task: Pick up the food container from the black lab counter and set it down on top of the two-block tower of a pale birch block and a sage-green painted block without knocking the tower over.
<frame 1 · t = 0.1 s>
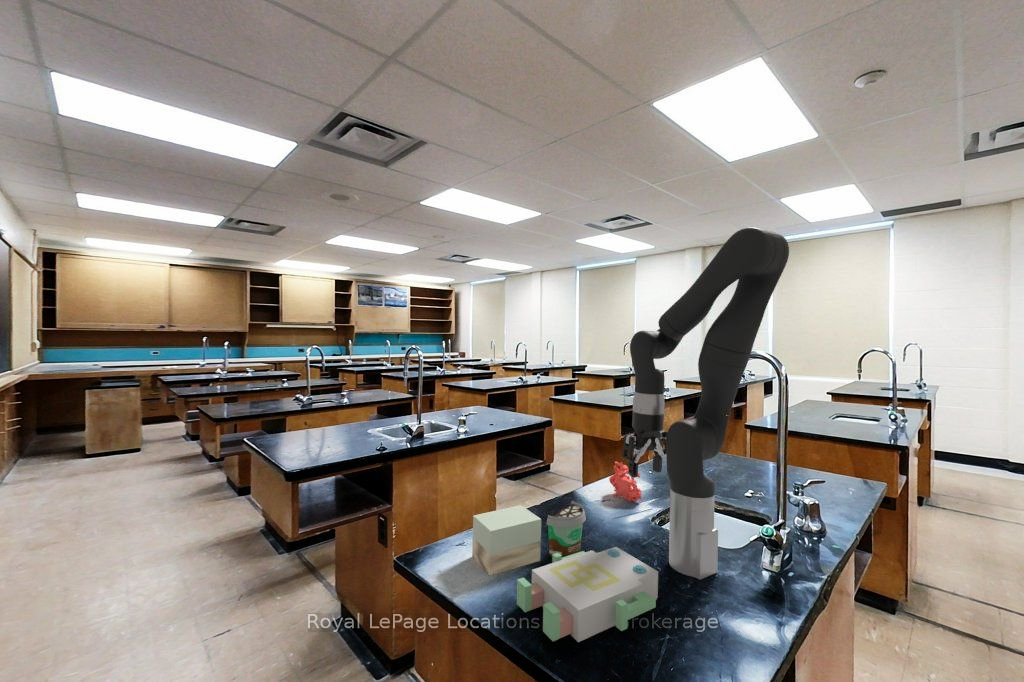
hand: (645, 473, 107), 17 cm above the countertop, tool pointing down, fingers open, 8 cm apart
anatomical heart: (625, 498, 136), on the countertop
tower top block: (506, 538, 98), point 5 cm above the countertop, touching tower base block
tower base block: (506, 560, 98), on the countertop, touching tower top block
decorative block: (588, 605, 82), on the countertop
food container: (570, 553, 101), on the countertop
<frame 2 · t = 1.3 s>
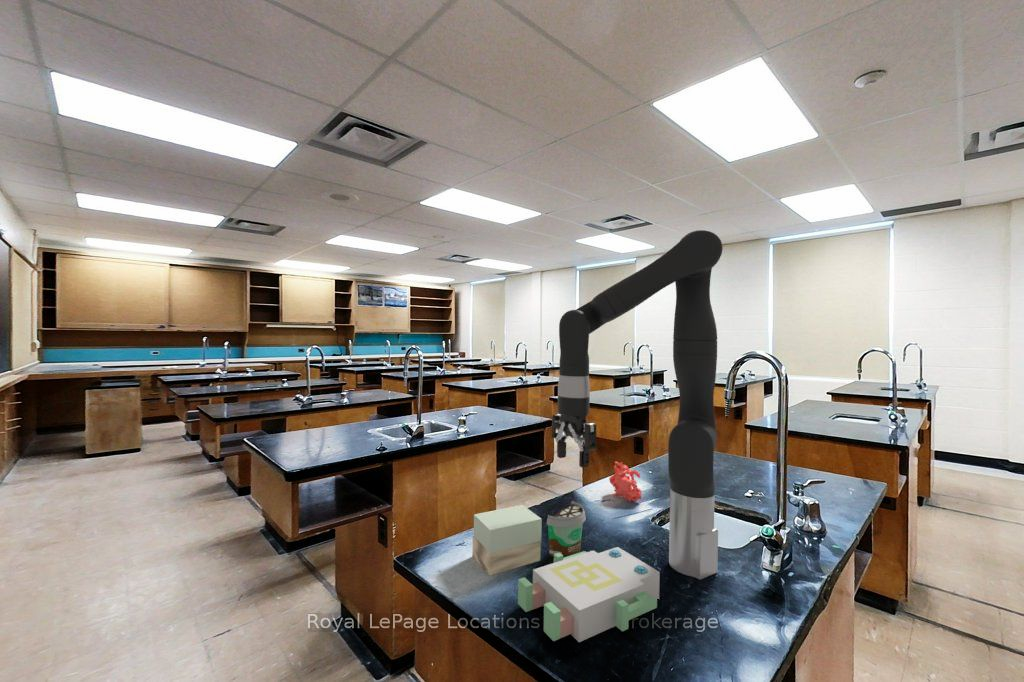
hand: (572, 461, 101), 22 cm above the countertop, tool pointing down, fingers open, 8 cm apart
tower top block: (507, 538, 98), point 5 cm above the countertop
tower base block: (506, 559, 98), on the countertop
everything else where it was.
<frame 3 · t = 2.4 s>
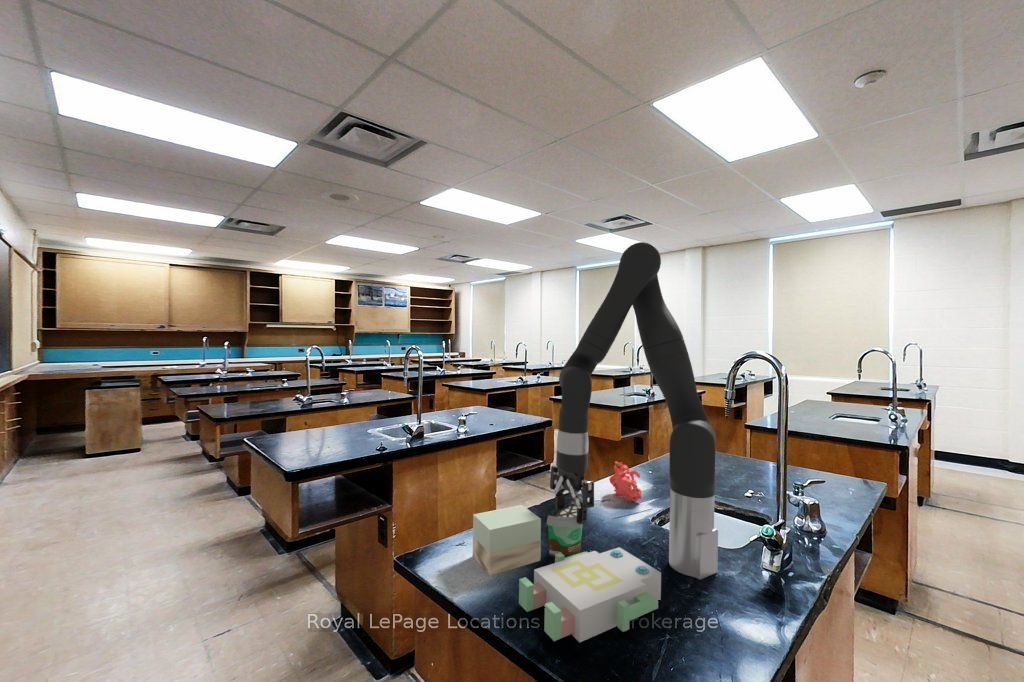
hand: (570, 516, 102), 8 cm above the countertop, tool pointing down, fingers open, 8 cm apart
tower top block: (506, 538, 98), point 5 cm above the countertop, touching tower base block
tower base block: (506, 559, 98), on the countertop, touching tower top block
everything else where it was.
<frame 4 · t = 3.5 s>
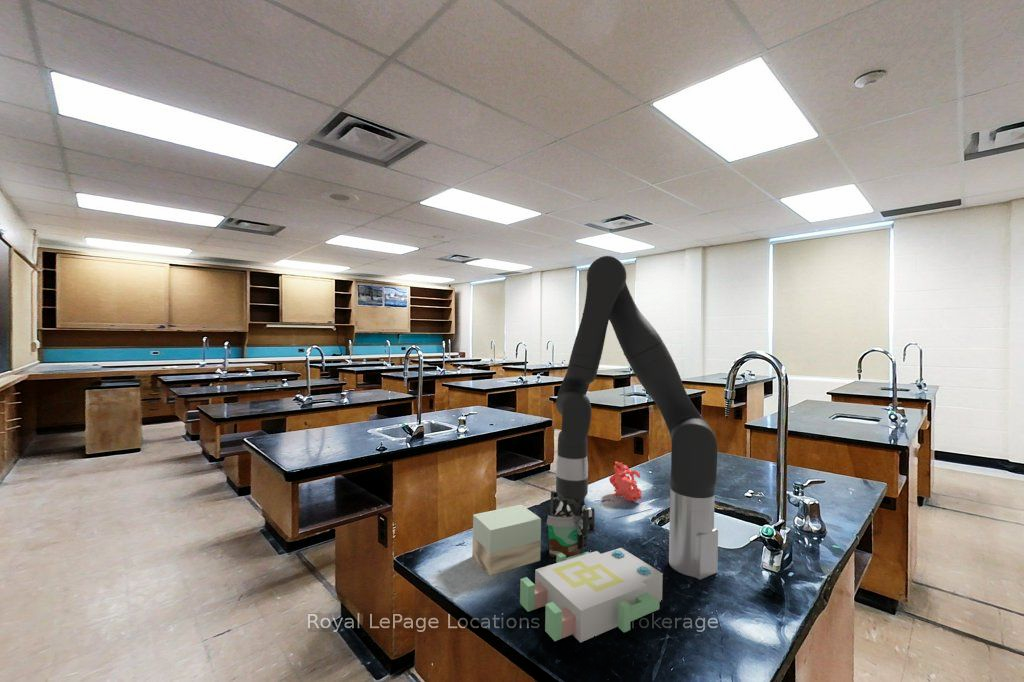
hand: (570, 541, 101), 2 cm above the countertop, tool pointing down, fingers open, 7 cm apart
food container: (570, 553, 101), on the countertop, touching gripper
everything else where it was.
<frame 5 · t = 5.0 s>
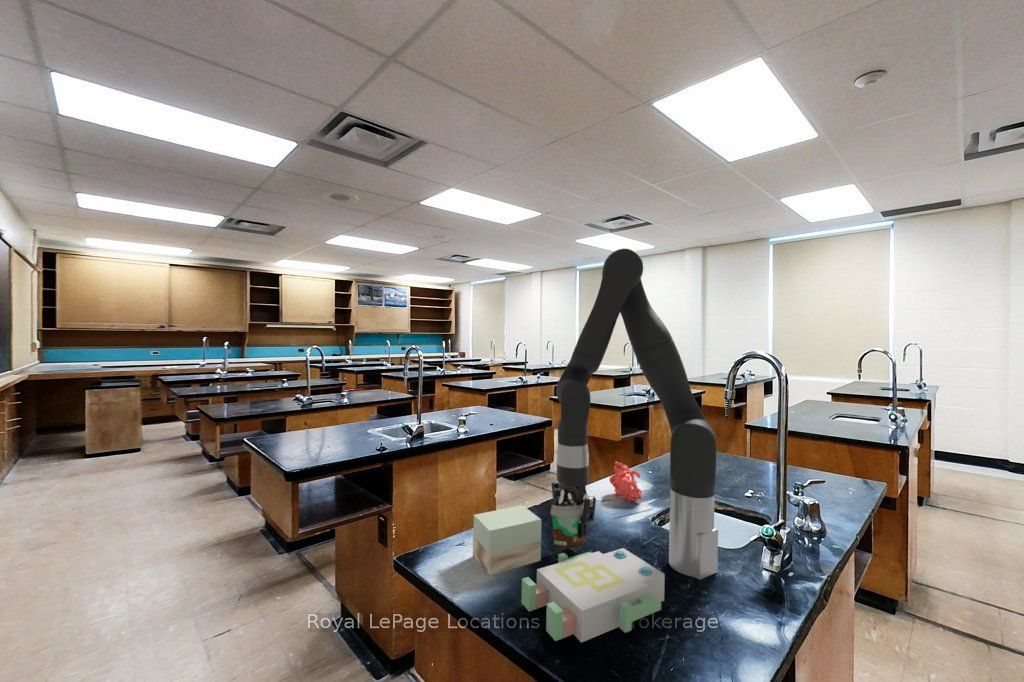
hand: (572, 532, 100), 5 cm above the countertop, tool pointing down, fingers closed on food container, 5 cm apart
food container: (575, 543, 100), point 3 cm above the countertop, touching gripper
everything else where it was.
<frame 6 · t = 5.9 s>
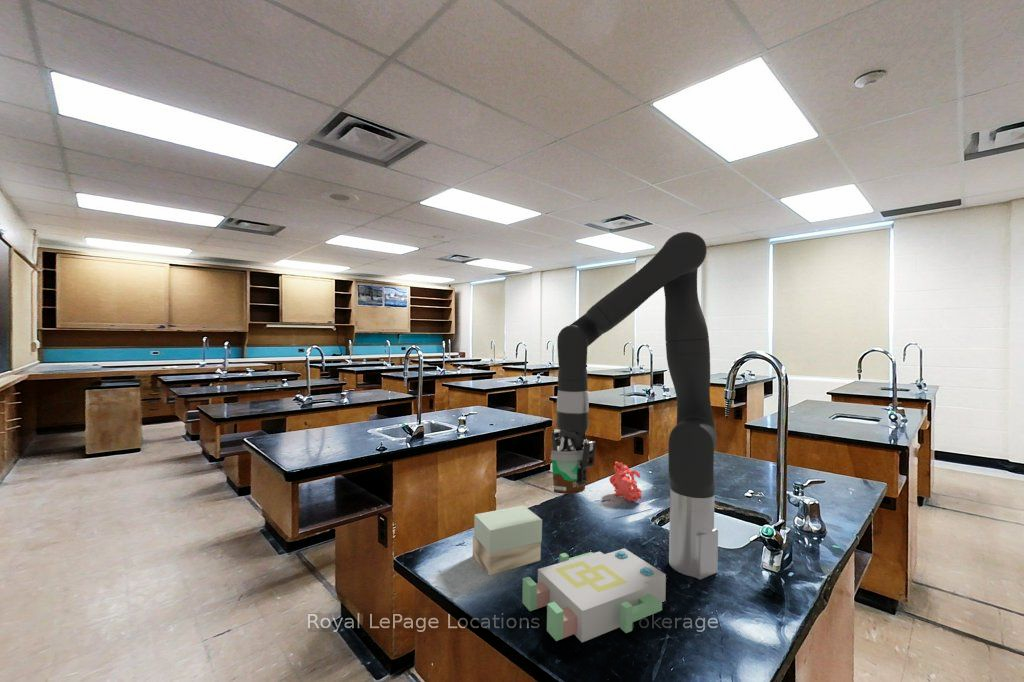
hand: (572, 479, 101), 18 cm above the countertop, tool pointing down, fingers closed on food container, 5 cm apart
food container: (575, 490, 100), point 15 cm above the countertop, touching gripper
when the fingers open (13 cm above the countertop, at t = 9.9 s): food container drops 1 cm, resting on tower top block.
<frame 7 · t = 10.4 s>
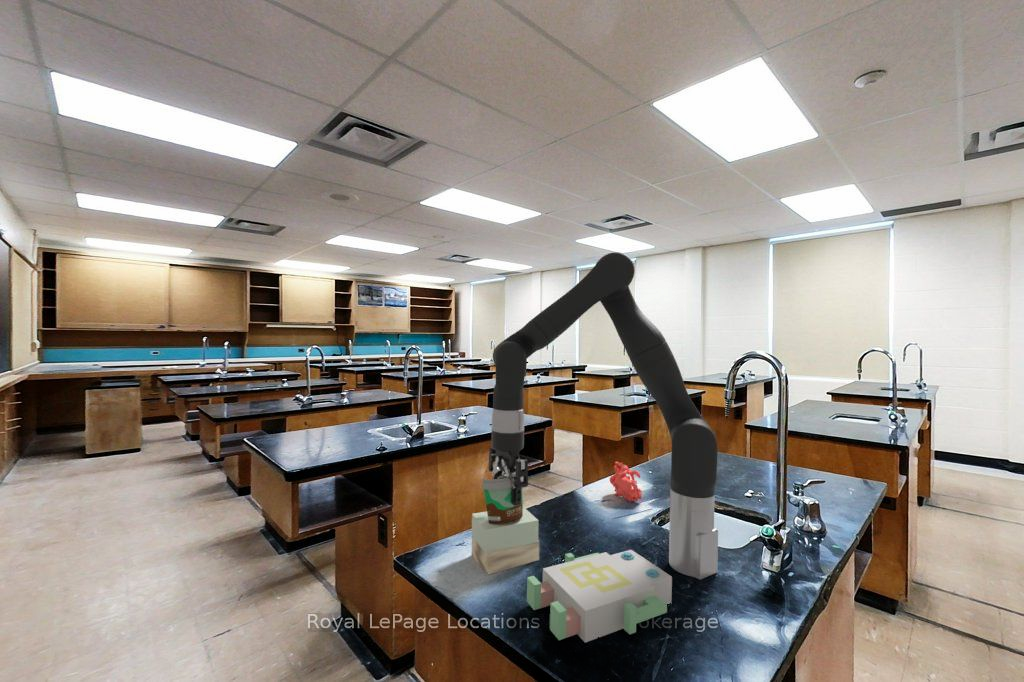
hand: (506, 497, 98), 14 cm above the countertop, tool pointing down, fingers open, 8 cm apart
tower top block: (504, 538, 98), point 4 cm above the countertop, touching food container, tower base block
food container: (512, 519, 97), point 10 cm above the countertop, touching gripper, tower top block
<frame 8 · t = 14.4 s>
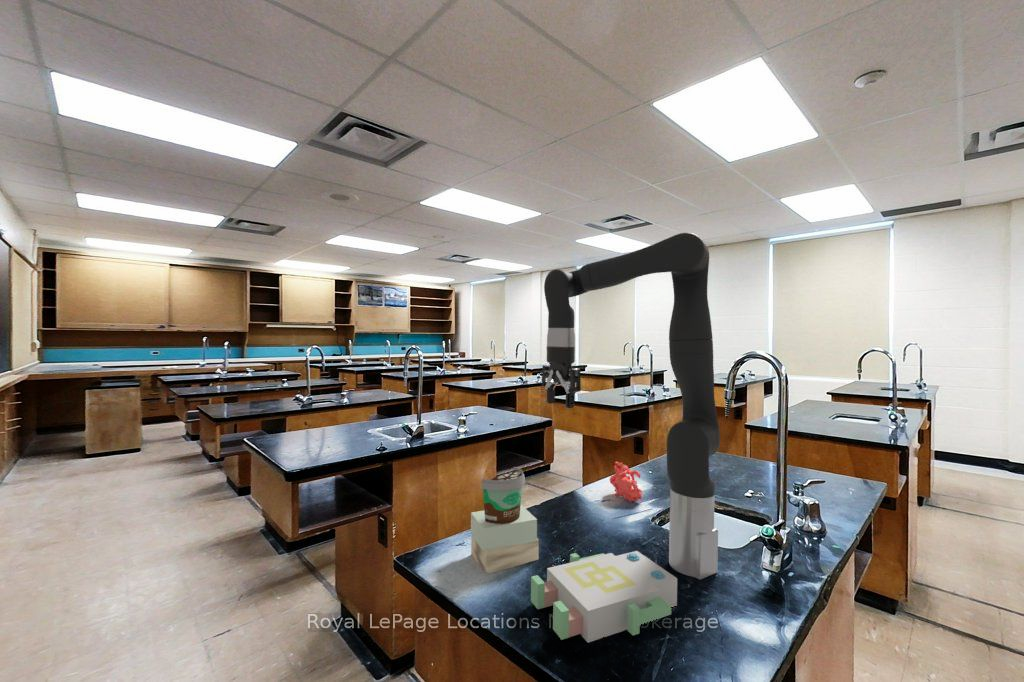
hand: (559, 405, 114), 33 cm above the countertop, tool pointing down, fingers open, 8 cm apart
food container: (508, 519, 97), point 9 cm above the countertop, touching tower top block
at the end: food container 1.8 cm off-centre on the tower top block, point 4.9 cm above the tower top block's base; tower top block 0.3 cm off-centre on the tower base block, point 5.0 cm above the tower base block's base; food container tilted 1° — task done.
